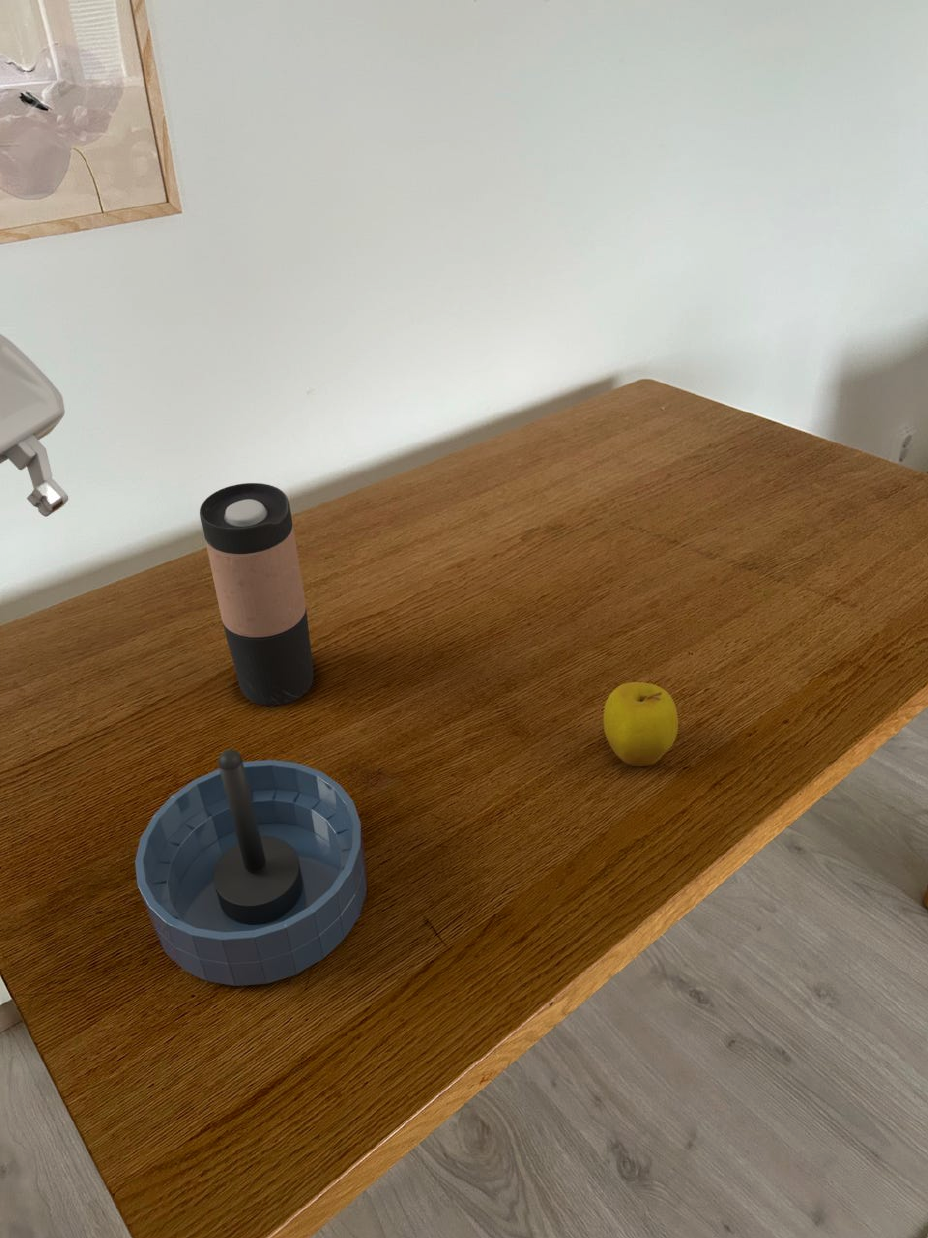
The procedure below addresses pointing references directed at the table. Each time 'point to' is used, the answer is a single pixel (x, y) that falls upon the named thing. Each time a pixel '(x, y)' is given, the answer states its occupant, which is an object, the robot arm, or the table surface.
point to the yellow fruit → (640, 722)
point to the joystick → (253, 858)
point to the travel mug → (259, 590)
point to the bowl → (203, 831)
